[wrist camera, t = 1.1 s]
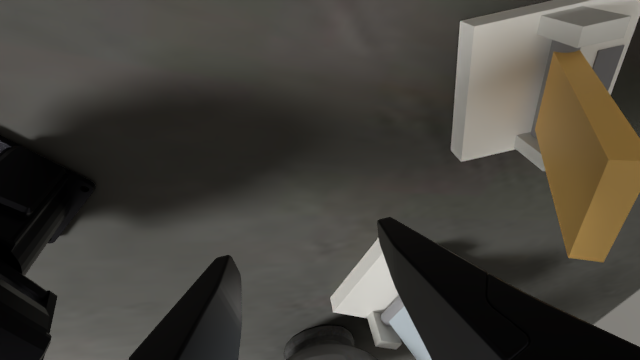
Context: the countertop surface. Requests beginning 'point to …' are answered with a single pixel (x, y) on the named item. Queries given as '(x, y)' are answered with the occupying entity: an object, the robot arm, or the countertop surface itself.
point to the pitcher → (324, 345)
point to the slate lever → (405, 328)
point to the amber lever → (585, 154)
